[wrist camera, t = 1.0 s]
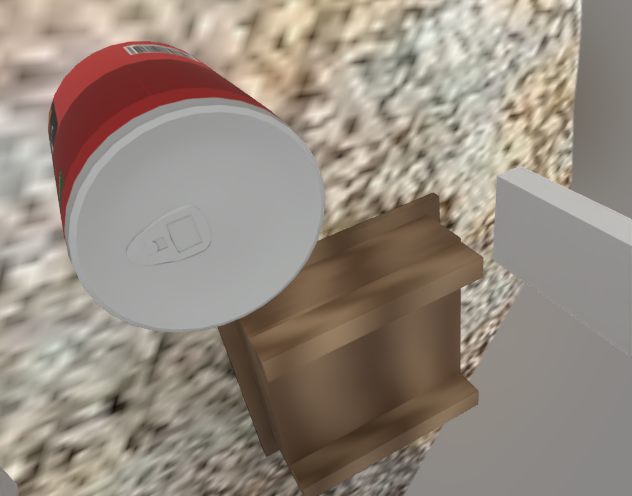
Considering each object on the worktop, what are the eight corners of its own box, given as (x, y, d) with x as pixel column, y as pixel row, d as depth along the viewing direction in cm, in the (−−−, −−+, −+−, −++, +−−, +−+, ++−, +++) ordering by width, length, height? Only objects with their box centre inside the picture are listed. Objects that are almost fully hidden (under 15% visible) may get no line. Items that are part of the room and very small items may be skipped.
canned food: (3, 108, 22) (-4, 224, 13) (163, -2, 22) (254, 41, 14) (125, 232, 26) (177, 375, 18) (253, 138, 27) (361, 235, 19)
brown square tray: (263, 450, 39) (296, 519, 35) (203, 289, 30) (237, 354, 25) (438, 358, 44) (488, 408, 39) (433, 192, 34) (497, 233, 30)
